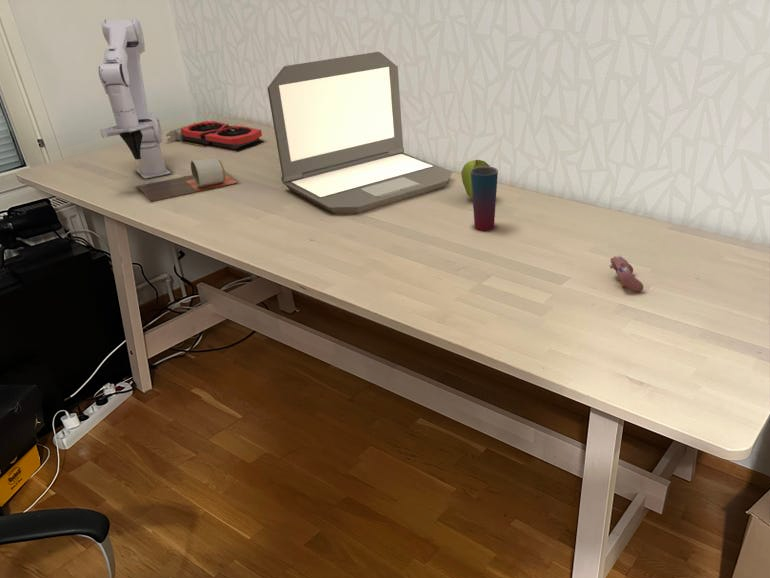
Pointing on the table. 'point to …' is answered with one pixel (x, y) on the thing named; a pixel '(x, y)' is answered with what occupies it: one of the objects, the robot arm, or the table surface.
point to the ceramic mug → (207, 171)
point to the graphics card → (217, 135)
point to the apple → (467, 174)
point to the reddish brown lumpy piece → (625, 274)
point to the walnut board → (178, 187)
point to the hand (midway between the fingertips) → (137, 158)
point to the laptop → (346, 134)
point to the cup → (484, 196)
